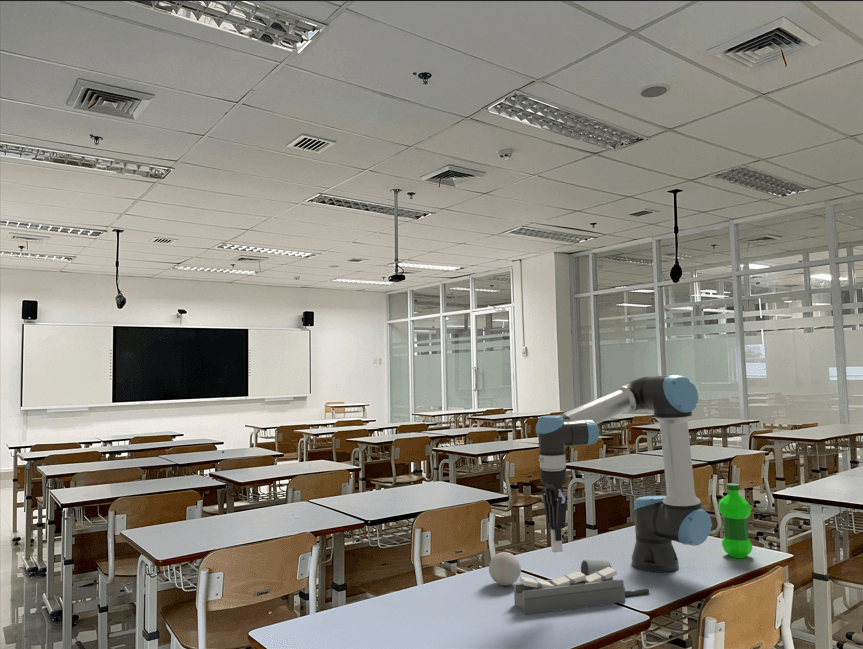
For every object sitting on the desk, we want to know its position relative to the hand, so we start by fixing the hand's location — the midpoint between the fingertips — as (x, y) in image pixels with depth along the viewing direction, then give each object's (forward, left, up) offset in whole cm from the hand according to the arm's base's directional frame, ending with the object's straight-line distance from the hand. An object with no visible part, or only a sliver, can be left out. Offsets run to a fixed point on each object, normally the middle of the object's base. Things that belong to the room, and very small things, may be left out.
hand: (557, 551), depth 183 cm
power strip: (-8, 0, -15) cm, 17 cm away
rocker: (-13, 0, -8) cm, 16 cm away
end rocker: (+7, 0, -8) cm, 11 cm away
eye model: (+9, -21, -15) cm, 27 cm away
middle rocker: (-3, 0, -8) cm, 9 cm away
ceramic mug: (-18, -13, -15) cm, 28 cm away
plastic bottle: (-79, -23, -15) cm, 84 cm away
